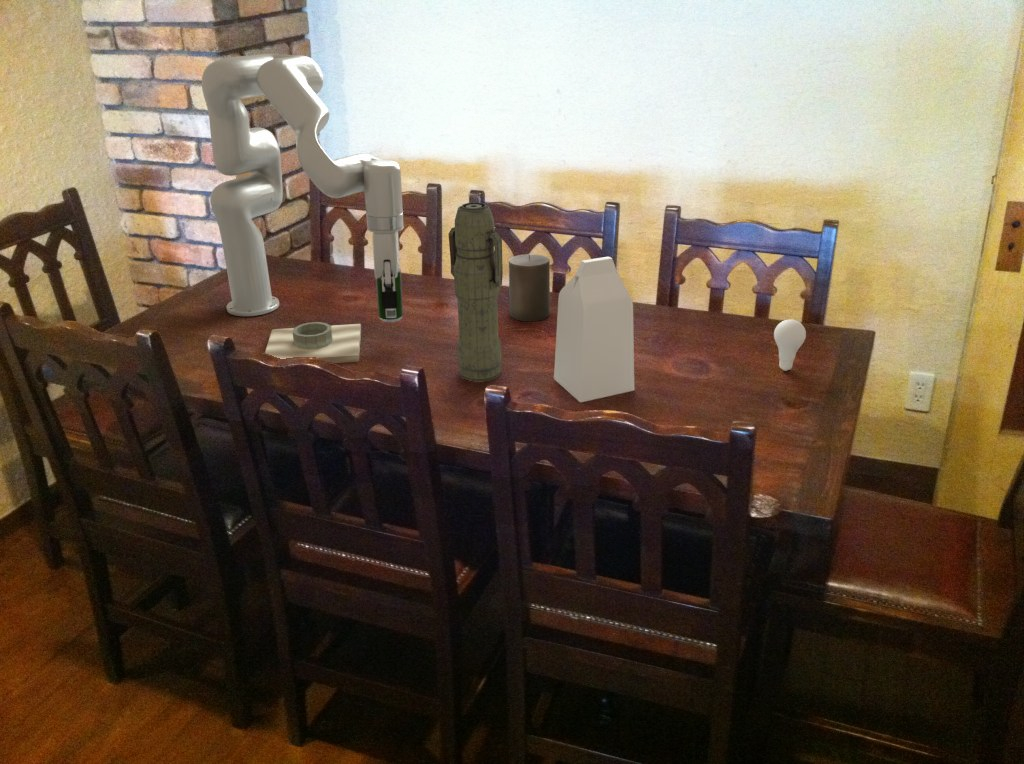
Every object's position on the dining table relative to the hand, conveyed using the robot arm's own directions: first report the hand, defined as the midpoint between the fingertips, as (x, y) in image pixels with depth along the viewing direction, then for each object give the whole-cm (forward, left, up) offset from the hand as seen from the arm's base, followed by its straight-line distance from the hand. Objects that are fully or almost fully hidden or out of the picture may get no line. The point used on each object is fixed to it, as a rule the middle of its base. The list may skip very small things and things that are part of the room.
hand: (389, 302), depth 187 cm
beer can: (0, 0, -4) cm, 4 cm away
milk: (+26, +40, -10) cm, 49 cm away
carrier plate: (-2, -17, -10) cm, 20 cm away
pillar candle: (-14, +33, -10) cm, 37 cm away
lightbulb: (+26, +80, -10) cm, 85 cm away
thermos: (+17, +18, -10) cm, 27 cm away
